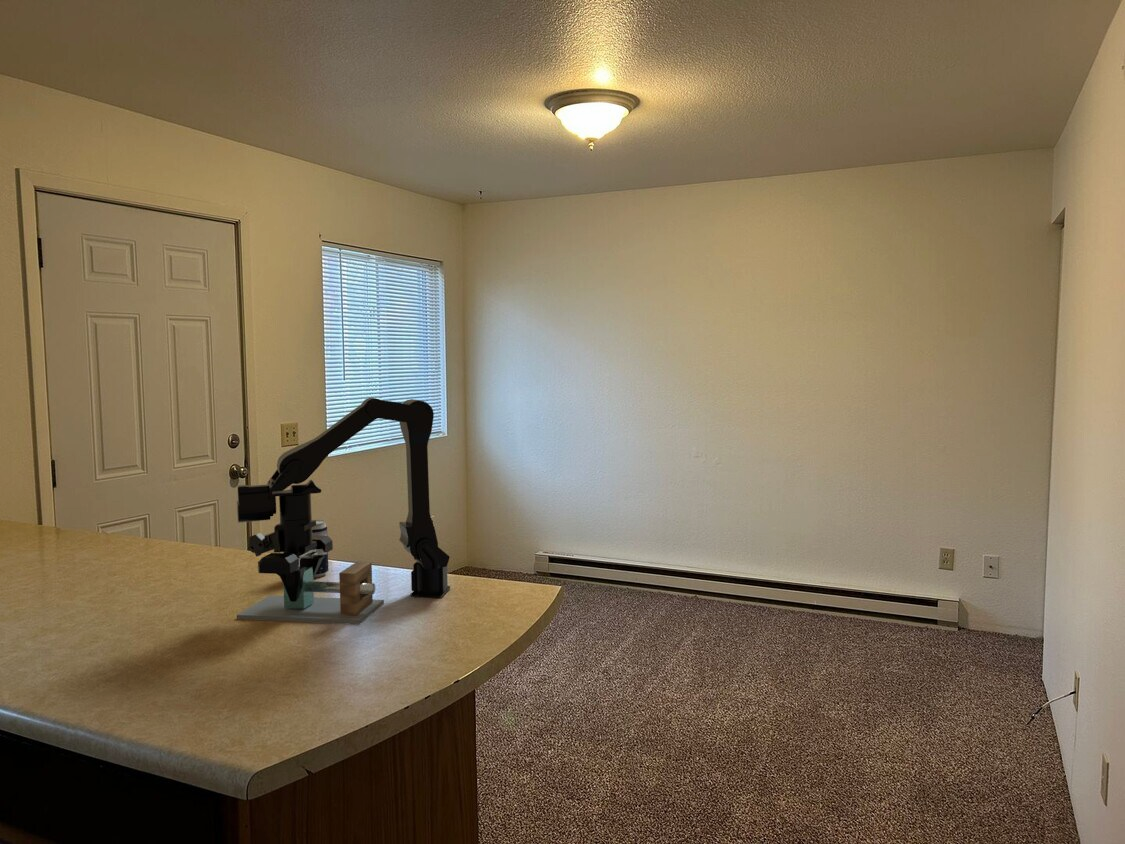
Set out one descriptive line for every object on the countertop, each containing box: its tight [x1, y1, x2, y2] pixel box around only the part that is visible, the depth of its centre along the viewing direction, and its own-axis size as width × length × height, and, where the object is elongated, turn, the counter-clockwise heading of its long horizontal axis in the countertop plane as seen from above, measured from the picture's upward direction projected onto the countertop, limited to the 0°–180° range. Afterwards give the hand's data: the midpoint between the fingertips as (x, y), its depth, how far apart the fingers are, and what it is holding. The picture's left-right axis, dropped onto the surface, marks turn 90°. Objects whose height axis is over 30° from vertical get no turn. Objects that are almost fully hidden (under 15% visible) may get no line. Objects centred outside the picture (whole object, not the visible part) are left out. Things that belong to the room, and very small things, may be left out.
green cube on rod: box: [282, 567, 376, 609], centre depth 149 cm, size 17×4×7 cm, turn 82°
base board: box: [236, 594, 385, 625], centre depth 150 cm, size 24×12×1 cm, turn 82°
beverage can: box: [312, 519, 329, 578], centre depth 174 cm, size 6×6×12 cm
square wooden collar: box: [338, 561, 374, 616], centre depth 148 cm, size 3×8×8 cm, turn 172°
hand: (298, 597), depth 150 cm, fingers closed on green cube on rod, 4 cm apart
